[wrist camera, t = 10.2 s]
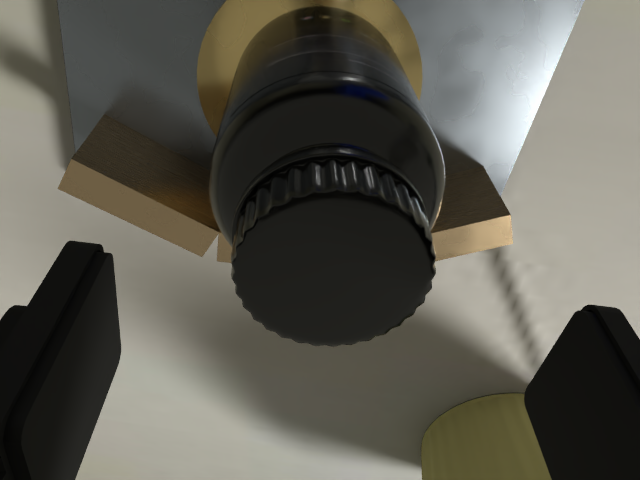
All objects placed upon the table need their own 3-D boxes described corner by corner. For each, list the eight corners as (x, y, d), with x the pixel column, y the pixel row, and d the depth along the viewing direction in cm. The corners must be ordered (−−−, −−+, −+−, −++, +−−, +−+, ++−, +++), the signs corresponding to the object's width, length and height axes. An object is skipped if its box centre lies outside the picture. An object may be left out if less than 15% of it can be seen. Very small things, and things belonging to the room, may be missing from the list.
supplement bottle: (391, 164, 24) (449, 379, 15) (239, 160, 24) (196, 376, 14) (414, 2, 20) (516, 152, 10) (231, -5, 20) (161, 141, 10)
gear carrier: (671, -260, 17) (798, -295, 13) (471, 230, 29) (502, 301, 24) (28, -418, 15) (-88, -529, 10) (91, 183, 26) (48, 252, 22)
